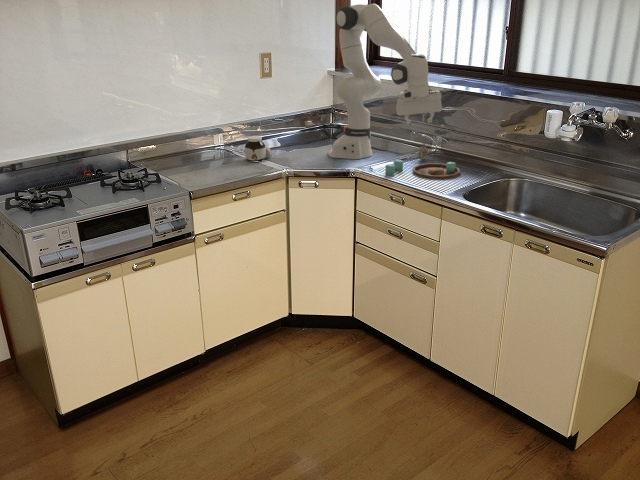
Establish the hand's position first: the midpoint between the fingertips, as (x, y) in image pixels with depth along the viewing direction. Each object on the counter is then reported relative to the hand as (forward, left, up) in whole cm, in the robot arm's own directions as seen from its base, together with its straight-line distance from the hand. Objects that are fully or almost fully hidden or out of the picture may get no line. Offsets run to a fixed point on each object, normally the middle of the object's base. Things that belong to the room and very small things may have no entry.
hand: (419, 123), depth 279 cm
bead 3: (+15, -1, -22) cm, 27 cm away
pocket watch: (+6, +19, -23) cm, 30 cm away
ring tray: (+8, -1, -23) cm, 24 cm away
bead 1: (-13, -4, -23) cm, 26 cm away
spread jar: (-78, +18, -23) cm, 83 cm away
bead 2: (-9, +4, -23) cm, 25 cm away
